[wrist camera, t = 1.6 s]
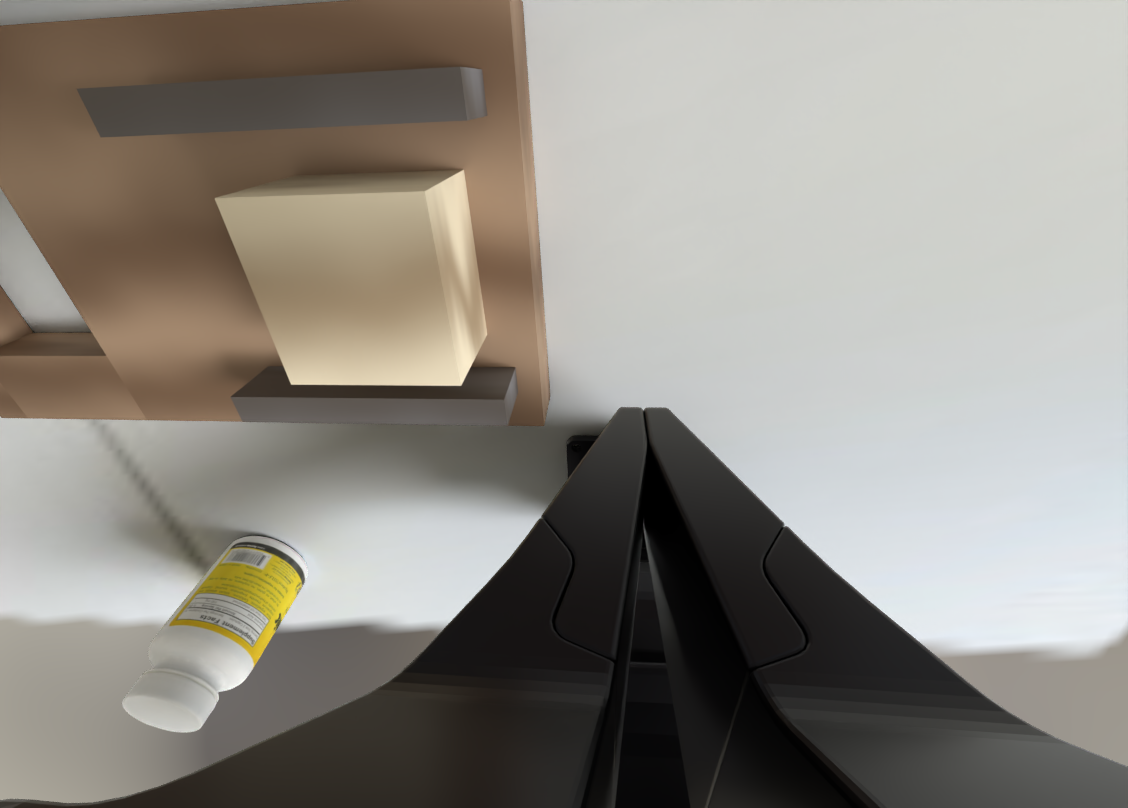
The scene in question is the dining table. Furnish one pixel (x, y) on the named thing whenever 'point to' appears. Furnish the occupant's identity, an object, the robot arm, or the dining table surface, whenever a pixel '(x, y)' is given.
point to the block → (363, 275)
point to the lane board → (241, 161)
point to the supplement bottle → (217, 634)
